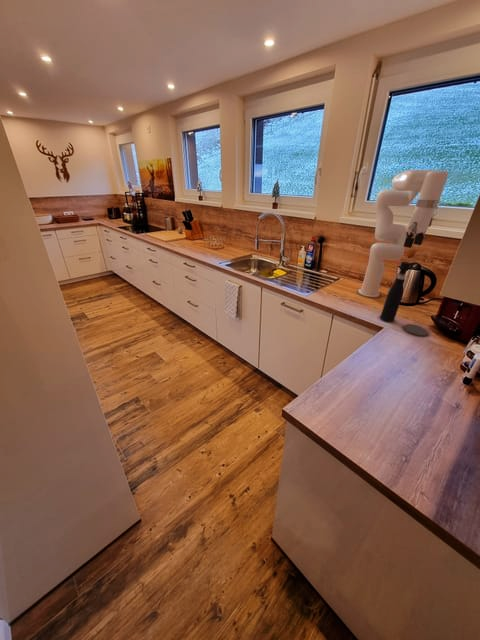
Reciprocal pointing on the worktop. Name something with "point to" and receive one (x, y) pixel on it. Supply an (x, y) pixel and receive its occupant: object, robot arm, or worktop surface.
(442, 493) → the worktop surface
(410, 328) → the slate coaster
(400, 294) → the black bottle
